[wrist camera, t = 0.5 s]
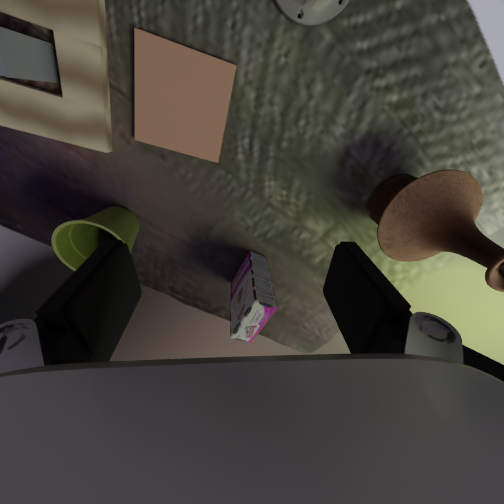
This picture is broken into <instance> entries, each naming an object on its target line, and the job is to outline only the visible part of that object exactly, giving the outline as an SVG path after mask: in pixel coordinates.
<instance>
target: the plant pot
mask: <svg viewBox="0 0 504 504" xmlns="http://www.w3.org/2000/svg"><path fill="white" fill-rule="evenodd" d="M138 231H139V222H138V220H137V218H136V216H135V215H134V214H133V213H132V212H130V211H128V210H126V209H124V208H122V207H117V206H113V207H109V208H106V209H104V210H102V211H100V212H98V213H96V214H93V215H91V216H89V217H87V218H85V219H80V220H73V221H68V222H65V223H63V224H61V225H59V226H58V227H57V228H56V229H55V230H54V232H53V234H52V247H53V249H54V251H55V253H56V255H57V256H58V257H59V259H60V260H61V261H62V262H63V263H64V264H65V265H67V266H68V267H69V268H71V269H72V270H74V271H75V270H76V269H77V268H78V267H79V266H80V265H81V264H82V263H83V262H84V261H85V260H86V259H87V258H88V257H89V256H90V255H91V254H92V253H93V252H94V251H95V250H96V249H97V248H98V247H99V246H100V245H101V244H102V243H103V242H104V241H105V240H122V241H123V243H126V244H127V245H128V247H129V251H130V254H131V250H132V247H133V244H134V241H135V239H136V236H137V234H138Z"/></svg>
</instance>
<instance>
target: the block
mask: <svg viewBox="0 0 504 504" xmlns="http://www.w3.org/2000/svg"><path fill="white" fill-rule="evenodd" d="M0 75H2V76H5V77H10V78H18V79H27V80H36V81H45V82H53V83H59V80H58V74H57V67H56V60H55V54H54V47H53V44H51V43H48V42H45V41H42V40H39V39H36V38H33V37H30V36H27V35H24V34H21V33H18V32H15V31H12V30H9V29H6V28H3V27H0Z"/></svg>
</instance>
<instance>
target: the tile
mask: <svg viewBox="0 0 504 504" xmlns="http://www.w3.org/2000/svg"><path fill="white" fill-rule="evenodd" d="M134 39H135V140H137V141H141V142H144V143H148V144H151V145H155V146H159V147H162V148H166V149H169V150H173V151H177V152H180V153H184V154H187V155H191V156H195V157H198V158H202V159H205V160H209V161H213V162H216V163H218V162H219V156H220V151H221V146H222V140H223V135H224V130H225V125H226V119H227V114H228V109H229V104H230V98H231V93H232V88H233V82H234V77H235V72H236V67H237V66H236V65H234V64H231V63H228V62H226V61H223V60H220V59H218V58H215V57H212V56H209V55H207V54H204V53H201V52H199V51H196V50H193V49H191V48H188V47H185V46H183V45H180V44H177V43H174V42H172V41H169V40H166V39H164V38H161V37H158V36H156V35H153V34H150V33H148V32H145V31H142V30H139V29H137V28H134Z"/></svg>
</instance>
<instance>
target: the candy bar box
mask: <svg viewBox="0 0 504 504" xmlns="http://www.w3.org/2000/svg"><path fill="white" fill-rule="evenodd" d="M277 308H278V307H277V303H276V299H275V294H274V290H273V286H272V282H271V276H270V272H269V268H268V263H267V259H266V257H265V256H263V255H259V254H257V253H255V252H252V251H249V252H248V253H247V255H246V257H245V259H244V261H243V262H242V264H241V266H240V268H239V269H238V271H237V273H236V274H235V276H234V278H233V280H232V281H231V310H230V311H231V313H230V314H231V315H230V316H231V317H230V338H233V339H238V340H242V341H245V342H252V341H253V340H254V338H255V337H256V335H257V334H258V333H259V332H260V330H261V329H262V328H263V326H264V325H265V324H266V322H267V321H268V320H269V319H270V317H271V316H272V315H273V313H274V312H275V311H276V309H277Z"/></svg>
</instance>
